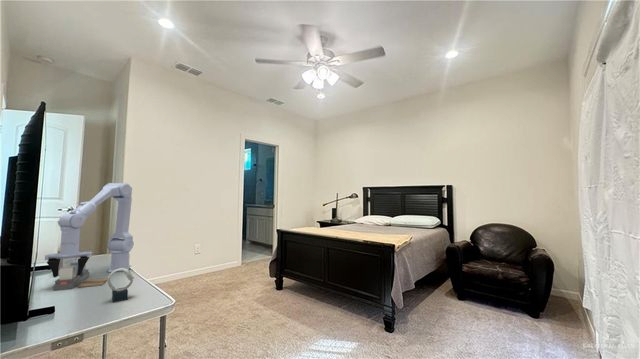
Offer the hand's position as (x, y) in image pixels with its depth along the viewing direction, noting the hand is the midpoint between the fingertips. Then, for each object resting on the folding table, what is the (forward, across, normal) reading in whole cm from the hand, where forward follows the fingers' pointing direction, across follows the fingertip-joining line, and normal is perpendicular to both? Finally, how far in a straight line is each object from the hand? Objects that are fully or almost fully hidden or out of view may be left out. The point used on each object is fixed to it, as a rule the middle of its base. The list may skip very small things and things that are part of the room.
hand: (67, 275), depth 110 cm
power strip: (+4, 0, +8) cm, 9 cm away
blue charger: (+2, 0, +10) cm, 10 cm away
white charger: (+2, 0, 0) cm, 2 cm away
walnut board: (+4, +8, +1) cm, 10 cm away
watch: (+5, +23, -23) cm, 33 cm away
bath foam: (+5, -8, +22) cm, 24 cm away
